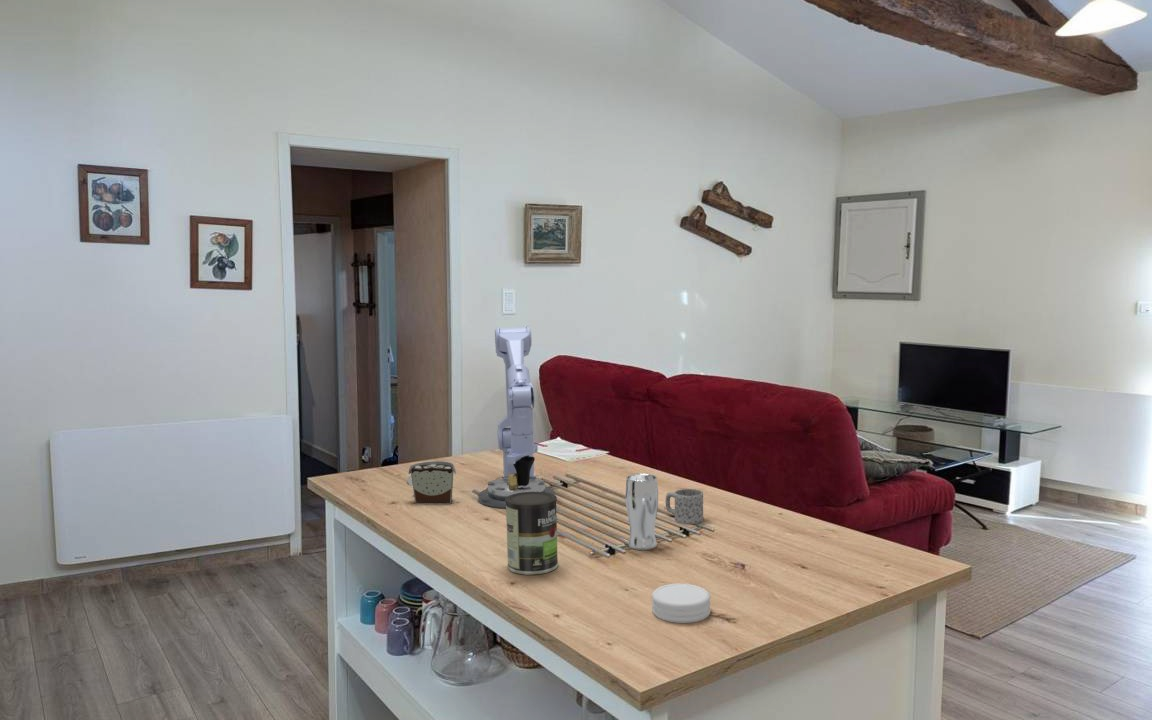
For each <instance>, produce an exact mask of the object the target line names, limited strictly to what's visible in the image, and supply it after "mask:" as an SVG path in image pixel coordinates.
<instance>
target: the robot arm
mask: <svg viewBox="0 0 1152 720" xmlns="http://www.w3.org/2000/svg"><path fill="white" fill-rule="evenodd" d="M494 343H495V344H494V346H495V353H496V356H497V357H500V358H501V359H503V360H502V361H503V363H504V368H505V370H504V371H505V390H506V391H505V394H506V416H505V417H504V418H502V419H501V420H500V421H499V422H498V424H497V448H498V449H499V451H502V459H503V460H502V461H503V463H502V464H503V477H507V476H508V474H510V473H517V474H518V485H519V486H527V485H528V484H529V478H530V476H533V477H536V478H538V476H537V475H535V461H536V459H535V457H534V454H535V453H537V452H538V451H539V447H538V443H534V412H533V411H534V410H533V409H534V408H535V402H536V397H535V396H536V395H535V389H534V386H533V383H532V382H531V378H530V369H529V368H528V366H526V365H525V364H524V361H525V359H524V357H526V356H529V355H530V351H531V347H532V329H531V327H530V326H520V327H519V326H518V327H517V326H516V327H498V326H496V328H495V329H494Z"/></svg>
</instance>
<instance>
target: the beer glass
mask: <svg viewBox="0 0 1152 720" xmlns="http://www.w3.org/2000/svg"><path fill="white" fill-rule="evenodd" d="M625 481H626V482H625V505H626V511H627V512H626V513H627V518H628V524H629V538H628V544H627V545H628V547H629V548H630V549H632V550H635V551H651V550H653V549H655V548H656V547H657V546H658V544H657V539H656V531H655V528H656V520H657V514H658V508H659V507H658V506H659V488H658V487H659V486H658V485H659V484H658V476H656V474H655V475H654V474H652V473H651V474H650V473H634V474H632V473H631V474H629V475H626V477H625Z"/></svg>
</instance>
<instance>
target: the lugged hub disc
mask: <svg viewBox="0 0 1152 720" xmlns="http://www.w3.org/2000/svg"><path fill="white" fill-rule="evenodd" d="M545 487H546V482H545V480H543V479H541V478H538V477H537V478H536V477H533V476H530V478H529V484H528V485H527V486H519V485H518V474H517V473H510V474H508V476H507V477H504V476H503V477H501V478H498V479H493V480H491V481H488V483H487V489H488V496H489V497H491V498H493V499H498V500H505V498H506V497H508V496H510V495H512V494H516V493H522V492H545Z"/></svg>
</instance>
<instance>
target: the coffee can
mask: <svg viewBox="0 0 1152 720" xmlns="http://www.w3.org/2000/svg"><path fill="white" fill-rule="evenodd" d="M557 500H558V497H557V496H556V494H555V495H553V494H551V493H546V492H522V493H516V494H512V495H510V496H508V497H506V498H505V503H506V509H505V512H506V515H505V517H506V518H505V519H506V547H507V570H509V571H510V572H512V573H514V574H518V575H527V576H529V575H531V576H533V575H543V574H546V573H547V574H548V573H551V572H553V571H554V570H557V568H558V566H559V562H558V534H557V533H558V526H557V525H558V524H557V523H558V519H557V516H558V515H557Z"/></svg>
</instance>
